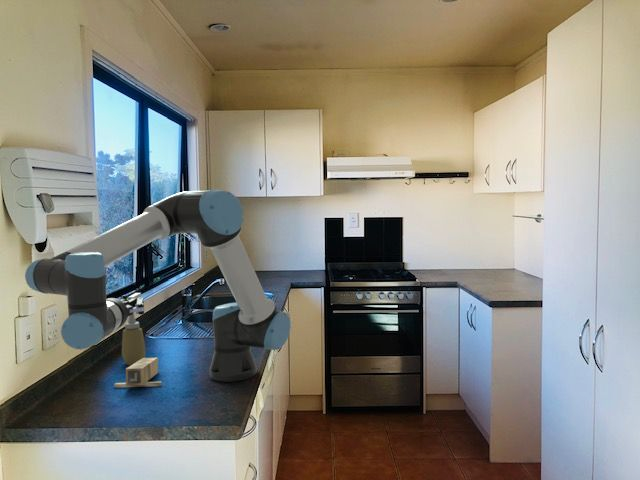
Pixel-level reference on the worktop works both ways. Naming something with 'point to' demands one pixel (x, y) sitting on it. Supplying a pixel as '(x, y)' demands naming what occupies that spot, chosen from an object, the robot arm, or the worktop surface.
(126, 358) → the squeeze bottle
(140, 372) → the oak block
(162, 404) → the worktop surface
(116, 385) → the maple strip
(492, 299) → the worktop surface
